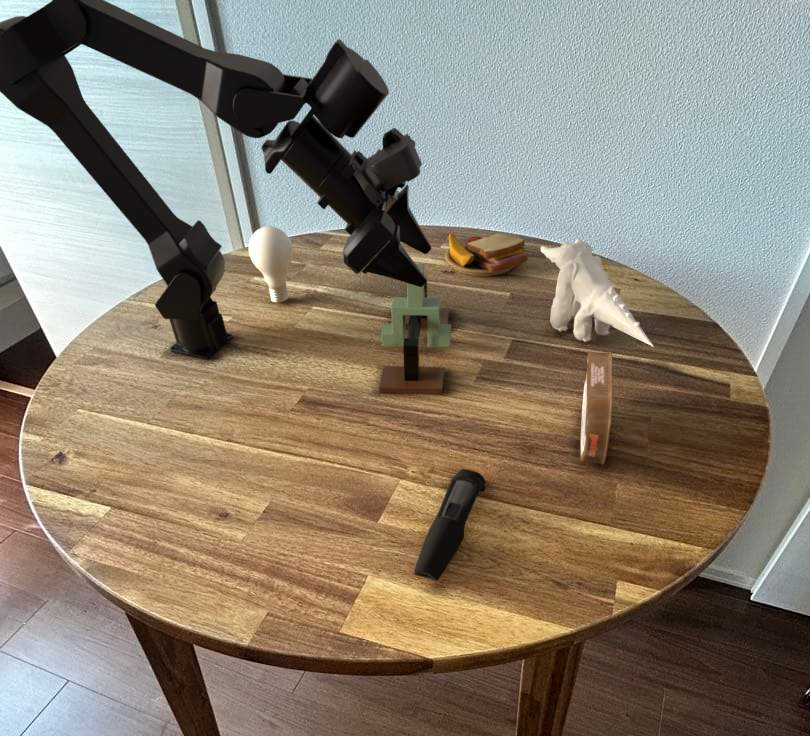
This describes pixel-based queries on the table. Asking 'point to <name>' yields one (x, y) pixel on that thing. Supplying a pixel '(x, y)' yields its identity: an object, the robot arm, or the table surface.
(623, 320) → the toy dinosaur
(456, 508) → the electric trimmer
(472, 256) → the toy sandwich meal
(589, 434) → the brown product box
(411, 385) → the toy hurdle
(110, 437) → the table surface
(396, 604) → the table surface
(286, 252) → the lightbulb
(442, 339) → the green stepped block figure
